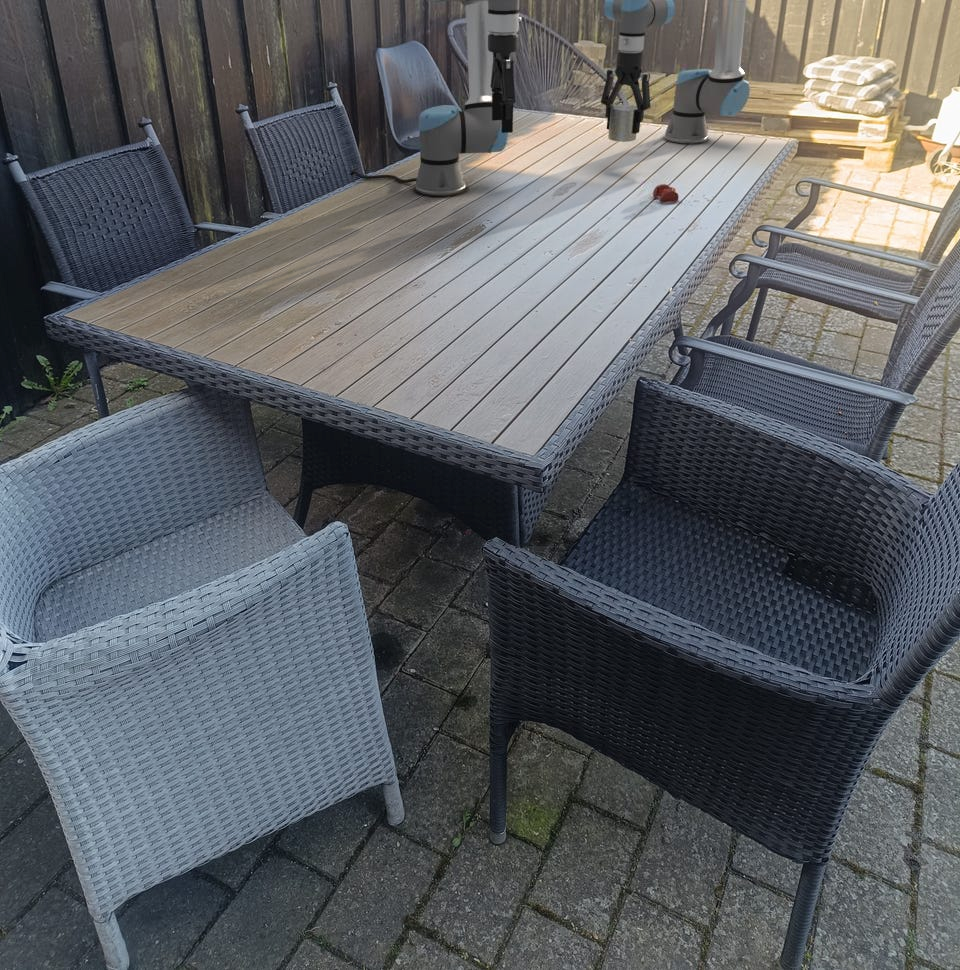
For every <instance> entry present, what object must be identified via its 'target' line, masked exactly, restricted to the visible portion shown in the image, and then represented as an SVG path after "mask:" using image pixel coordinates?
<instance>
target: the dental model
mask: <svg viewBox="0 0 960 970" xmlns="http://www.w3.org/2000/svg"><path fill="white" fill-rule="evenodd" d="M652 198H659V203H671V202H672V203H673V202H678V201H679V193H678V192H677V189H676V188H674V187H673V186H670V185H669V184H666V183H663V184H662V183H661V184H658V185H656V187H655V188H654V189H653V192H652Z"/></svg>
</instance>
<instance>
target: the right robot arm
mask: <svg viewBox="0 0 960 970" xmlns="http://www.w3.org/2000/svg"><path fill="white" fill-rule="evenodd" d="M747 2H748V0H718V14H717V25H716V40H715V51H714V62H713V63H714V65H713V68H712V69H710V68H697V69H688V70H687V69H686V70H682V71H680V72H679V73H678V74H677V78H676V83H675V89H674V99H673V107H672V116H671V118H670V120H669V123H668V124H667V128H666V130H665V133H664V140H666V141H668V142H671V143H676V144H684V145H685V144H686V145H693V144H694V145H695V144H701V143H705V142H707V141H708V129H709V126H707V122H706V121H707V120H706V113H709V114H714V115H717V116H718V115H719V116H721V117H735V116H737V115H738V114H740V113H741V112H742V110H743V109H744V108H745V106H746V105H747V103H748V100H749V97H750V93H751V86H750V83H749V82H748V81H747V80H745V71H744V70H743V68H741V63H742V52H743V43H744V42H743V41H744V32H745V31H744V30H745V22H746V11H747V10H746V9H747ZM603 13H604V16H605V18H606V19H608V20H609V21H615V22H616V23H617V22H620V24H619V32H618V33H619V35H618V44H617V45H618V46H617V50H619V51H618V52H617V54H616V55H617V56H616V68H615V69H614V68H610V69H607V70H606V80H605V84H604V88H603V91H602V94H601V99H600V103H601V104H602V105H604V106H605V116H604V117H605V118H607V120H606V130H608V131H609V122H610V111H611V106H613V105H614V102H615V100H616V99H617V97H618V95H619V93H620V91H621V89H622V87H623V86H625V85H626V86H628V87H630V89H631V90H632V94H633V98H634V102H635V106H637V109H638V110H637V111H635V119H634V129H633V134H636V135H637V134H638V133H640V129H641V123H642V122H644V114H645V111H647V110H649V109H651V93H650V91H651V90H650V79H651V73H650V72H649V73H645V72H642V71H643V70H642V64H643V58H644V57H643V55H644V53H643V50H644V48H645V47H644V46H645V35H646V28H649V27H658V26H659V27H661V26H663V25H667V24H669V23H670V22H671V21H672V20H673V18H674V17H675V13H676V5H675V2H674V0H604V3H603ZM615 76H616V77H617V79H616V82H614V79H615ZM639 79H640V81H641V89H640V82H639ZM613 83H614V87H613V89H612V86H613Z"/></svg>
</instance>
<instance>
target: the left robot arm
mask: <svg viewBox="0 0 960 970" xmlns="http://www.w3.org/2000/svg"><path fill="white" fill-rule="evenodd" d="M426 2H435V3H440V2H460V3H461V4H462V5H463V7H464V9H465V26H466V28H465V29H466V48H467V49H466V51H467V72H468V73H467V74H468V76H467V77H468V94H469V95H468V99H467V101H466V102H465V103H464V110H459V107H458V106H457V105H454V104H450V105H449V104H442V105H437V106H433V107H429V108H427V109H425V110H423V111H422V112H421V113H420V114H419V117H418V118H419V119H418V120H419V121H418V132H419V157H420V158H419V159H420V161H419V162H420V164H419V168H418V172H417V176H416V177H414V178H408V179H403V178H400V177H398V176H396V175H394V174H375V175H364V174H361V173H360V172H359V171H358V170H355V169H353V170H351V171H350V172H349V176H353V175H357V176H358V177H359V178H361V179H363V180H377V179H392V180H395V181H397V182H399V183H402V184H408V183H414V182H415V185H414V186H415V192H417V193H418V194H420V195H424V196H430V197H450V196H455V195H459V194H461V193H463V192H464V191H466V181H465V179H464V172H462V169H461V165H460V154H487V153H488V154H491V153H500V152H501V153H502V152H503V151H504V150H505V149H506V146H507V144H508V140H509V139H508V138H509V133H512V134H513V132H514V104H516V92H515V89H516V88H515V76H514V75H515V74H514V63H515V62H514V59H513V58H511V54H512V53H516V52H518V51H519V47H520V46H519V41H520V40H519V39H520V38H519V37H520V35H519V34H518V32H519V29H520V23H519V22H522V17H521V16H520V0H426Z"/></svg>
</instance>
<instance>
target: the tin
mask: <svg viewBox="0 0 960 970" xmlns="http://www.w3.org/2000/svg"><path fill="white" fill-rule="evenodd" d="M637 110H638V109H637V105H634V104H625V103H623V104H622V103H621V104H613V105H612V106H611V111H610V122H609V130H608V134H607V139H608V140H610V141H613V142H618V143H619V142H621V143H627V142H629V143H630V142H633V141H636V139H637V133H636V134H633V129H634V119H635V111H637Z"/></svg>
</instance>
